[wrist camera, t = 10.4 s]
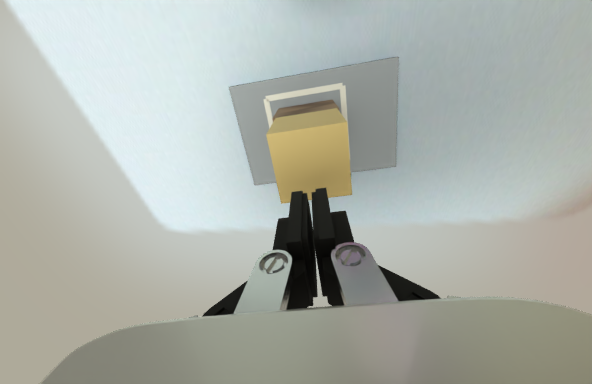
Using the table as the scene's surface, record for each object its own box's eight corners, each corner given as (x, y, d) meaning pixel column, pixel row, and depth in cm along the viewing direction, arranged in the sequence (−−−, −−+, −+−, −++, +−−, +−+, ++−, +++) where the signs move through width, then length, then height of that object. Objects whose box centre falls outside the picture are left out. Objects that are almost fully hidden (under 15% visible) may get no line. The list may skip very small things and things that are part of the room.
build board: (395, 57, 25) (399, 56, 24) (393, 163, 31) (396, 166, 30) (231, 86, 27) (228, 87, 26) (256, 182, 33) (254, 185, 32)
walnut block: (332, 99, 27) (338, 107, 21) (336, 151, 29) (343, 170, 24) (278, 108, 27) (272, 118, 22) (288, 158, 30) (284, 178, 25)
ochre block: (336, 108, 21) (347, 121, 16) (341, 166, 24) (352, 194, 18) (275, 117, 22) (266, 134, 17) (286, 173, 24) (281, 203, 19)
